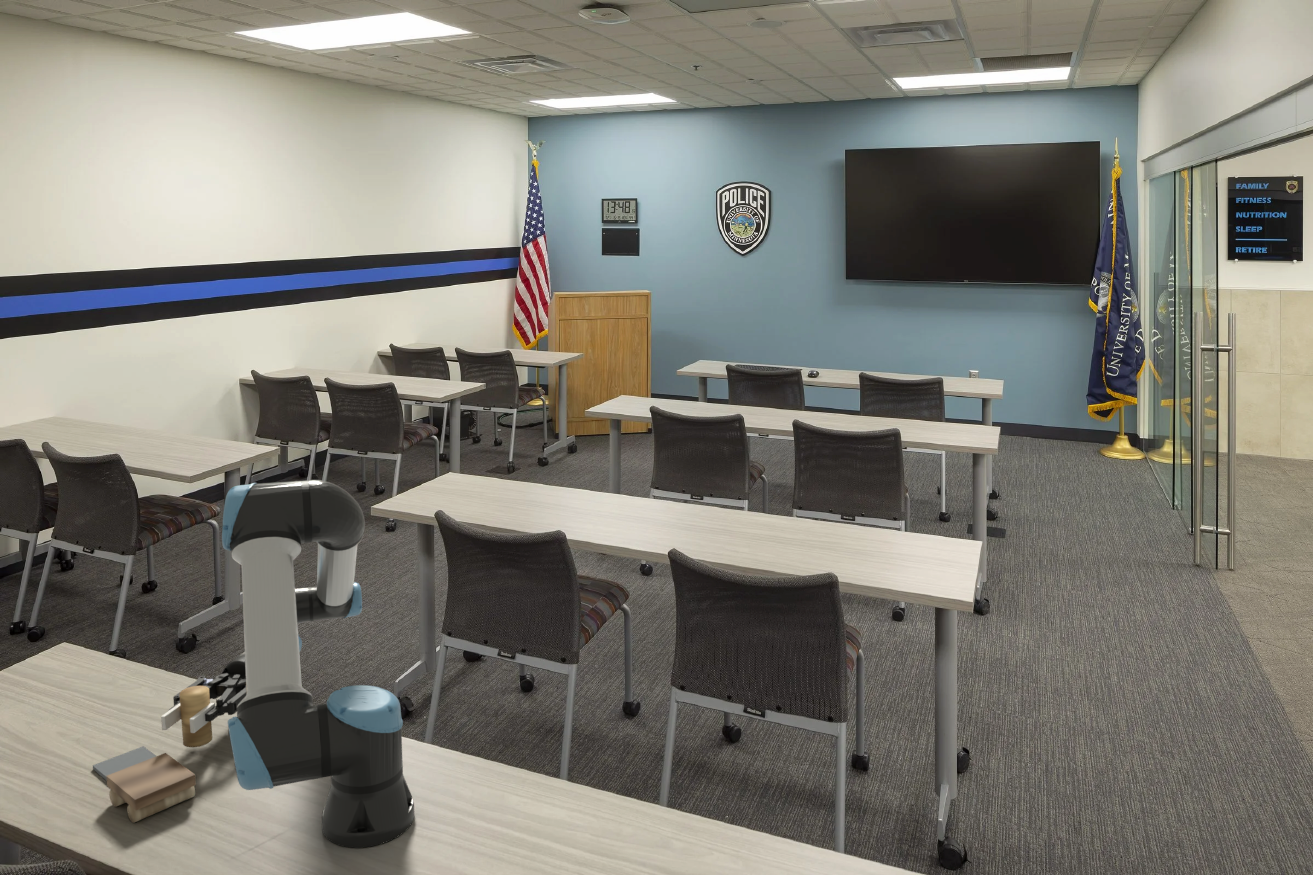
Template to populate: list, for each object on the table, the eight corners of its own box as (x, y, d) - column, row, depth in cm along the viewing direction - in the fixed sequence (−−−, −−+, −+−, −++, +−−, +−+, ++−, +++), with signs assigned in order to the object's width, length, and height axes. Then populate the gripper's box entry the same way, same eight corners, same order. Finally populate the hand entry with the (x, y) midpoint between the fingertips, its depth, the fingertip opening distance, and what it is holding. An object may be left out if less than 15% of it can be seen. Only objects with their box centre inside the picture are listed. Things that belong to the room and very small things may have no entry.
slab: (197, 800, 162) (195, 774, 162) (137, 826, 155) (134, 799, 154) (167, 777, 169) (165, 752, 168) (108, 801, 161) (106, 775, 160)
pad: (165, 766, 173) (165, 762, 172) (114, 787, 166) (113, 783, 165) (143, 749, 178) (143, 745, 178) (92, 769, 171) (92, 765, 171)
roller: (217, 739, 176) (214, 690, 174) (191, 750, 172) (187, 700, 170) (204, 731, 179) (200, 683, 177) (178, 741, 175) (174, 692, 173)
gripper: (291, 691, 191) (224, 747, 169) (210, 683, 194) (134, 738, 171) (289, 657, 190) (222, 709, 167) (208, 650, 192) (131, 701, 170)
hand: (177, 724), depth 169 cm, fingers closed on roller, 5 cm apart
